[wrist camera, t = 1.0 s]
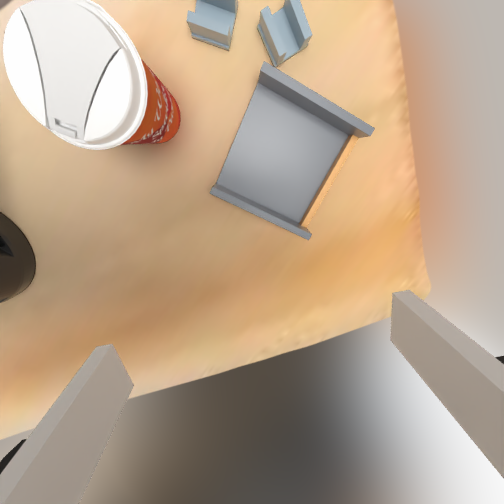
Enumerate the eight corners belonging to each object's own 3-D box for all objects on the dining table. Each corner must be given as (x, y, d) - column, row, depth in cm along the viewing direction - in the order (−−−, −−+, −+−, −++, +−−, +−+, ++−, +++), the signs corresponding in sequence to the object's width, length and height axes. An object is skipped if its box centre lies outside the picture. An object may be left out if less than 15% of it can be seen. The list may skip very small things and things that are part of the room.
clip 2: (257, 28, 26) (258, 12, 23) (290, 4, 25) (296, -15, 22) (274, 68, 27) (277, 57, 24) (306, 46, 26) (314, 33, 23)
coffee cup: (181, 162, 30) (127, 167, 16) (114, 139, 29) (-6, 122, 15) (198, 88, 27) (150, 17, 13) (124, 59, 26) (-12, -53, 12)
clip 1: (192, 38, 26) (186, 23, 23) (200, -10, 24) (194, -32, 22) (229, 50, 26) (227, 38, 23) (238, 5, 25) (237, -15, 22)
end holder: (214, 188, 32) (209, 193, 27) (260, 76, 27) (264, 60, 23) (300, 229, 34) (308, 240, 29) (355, 132, 30) (375, 128, 25)
